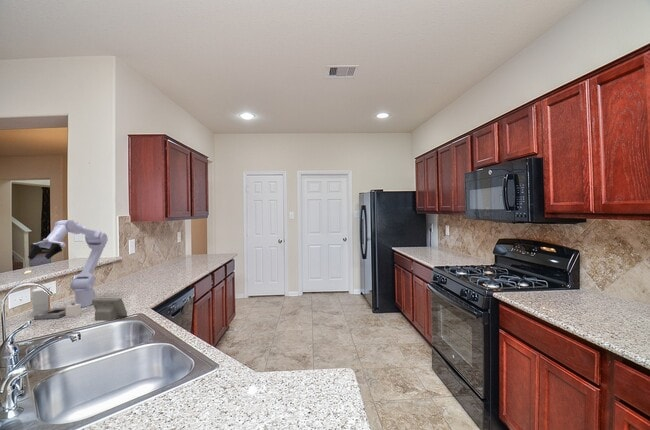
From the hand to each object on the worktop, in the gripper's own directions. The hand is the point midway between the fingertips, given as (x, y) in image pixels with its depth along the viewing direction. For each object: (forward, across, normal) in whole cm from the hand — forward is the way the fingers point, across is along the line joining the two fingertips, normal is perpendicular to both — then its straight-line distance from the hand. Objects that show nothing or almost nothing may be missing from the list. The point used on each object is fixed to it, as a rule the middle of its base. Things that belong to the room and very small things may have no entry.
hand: (38, 258), depth 143 cm
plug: (+14, +8, +30) cm, 34 cm away
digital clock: (+19, +30, +26) cm, 44 cm away
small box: (+9, -13, +35) cm, 39 cm away
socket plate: (+12, -2, +32) cm, 34 cm away
